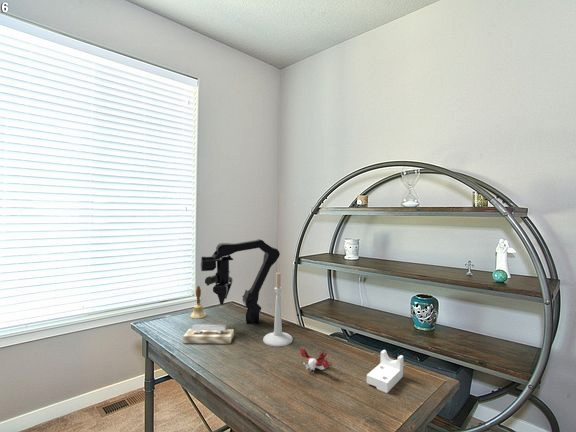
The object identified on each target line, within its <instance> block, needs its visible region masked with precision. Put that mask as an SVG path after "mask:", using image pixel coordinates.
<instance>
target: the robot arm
mask: <svg viewBox="0 0 576 432" xmlns="http://www.w3.org/2000/svg"><path fill="white" fill-rule="evenodd" d="M254 249H260V250H261V251H262V252H263V253H264V255H263V261H262V265H261V266H260V268H259V271H258V273H257V274H256V276H255V279H254V281H253V283H252V285H251V287H250V288H249V289H245V291H244V294H243V295H242V303H243V305H245V307H246V308H247V309H246V312H245V322H246V325H260V323H261V311H262V307H261V305H260V304H259V303H258V301H259V296H260V295H259V294H260V291H261V289H262V287H263V285H264V282H265V280H266V278H267V277H268V274H269V272H270V269H271V268H272V266H273V265H274V264H275V263H276V262H277V261H278V259H279V257H280V255H281V253H280V251H279V249H278V248H275V247H272V246H271V245H269V244H267V243H266V242H265V241H264V240H263V239H259V238H258V239H256V240H248V241H243V242H237V243H231V242H230V243H229V242H222V243H221V242H220V243H218V244H217V245H216V248H215V251H214V253H213V254H212V255H211V256H201V258H200V270H201V272H209V271H210V272H211V271H215V269H216V273H215V274H213V275H209V276H206V278H205V279H204V284H206V286H207V287H208V286H210V285H213V284H215V285H214V286H213V287H212V293H214V294H216V295H217V298H218V301H219V305H221V306H222V305H224V302H225V300H226V299H227V297H228V294H229V292H230V290H231V288H232V285H233V278H232V277H231V276H230V273H231V270H230V261H233V260H234V258H233V257H232V256H231V255H233V254H235V253H237V252H242V251H248V250H254Z"/></svg>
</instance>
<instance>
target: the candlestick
mask: <svg viewBox="0 0 576 432" xmlns="http://www.w3.org/2000/svg"><path fill="white" fill-rule="evenodd" d="M281 275H282V273H281V272H276V273H275V287H274V288H273V289H274V290H275V291H274V292H275V305H274V306H275V308H274V325H273V326H274V327H273V332H269V333H267V334H265V336H263V339H262V342H263V343H264V344H266V345H267V346H269V347H270V346H271V347H278V348H279V347H285V346H288V345H290V344H292V342H293V340H294V339H293V336H291V335H290V334H289V333H287V332H284V331H283V327H282V326H283V325H282V321H283V320H282V304H281V301H282V300H281V293H282V289H283V287H281V282H282V281H281V279H282V277H281Z"/></svg>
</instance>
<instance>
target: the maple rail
mask: <svg viewBox="0 0 576 432" xmlns="http://www.w3.org/2000/svg"><path fill="white" fill-rule="evenodd" d="M234 333H235V331H234V328H226V329H225V330H222V334H217V330H201V334H196V330H192V328H189V329H187V331H186V332H185V333H184V335H183V336H182V338H183V339H182V341H183V344H224V345H225V344H226V345H228V344H229V345H230V344H231V343H232V341H233V338H234V336H235V335H234Z"/></svg>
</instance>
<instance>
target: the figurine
mask: <svg viewBox="0 0 576 432" xmlns="http://www.w3.org/2000/svg"><path fill="white" fill-rule="evenodd" d="M299 354H300V355H301V356H302V357H303V358H306V359H307V361H308V362H307V363H308V364H307V363H305V362H303V365H304V366H305V367H306V368H305V371H306V370H308V369H310V370H309V371H310V372H311V371H313V372H312V374H314V372H315V371H314V370H315V369H319V370H320V371H322V370H325V369H327V368H329V367H330V366H332V364H333V363H334V362H333V361H328V360H329V356H327V354H328V352H326V353H325V351H322V350H320V352H319V355H318V357H317V358H314V357H312V356H311V355H309V354H308V352H307V350H306V345H303V347H300V349H299Z"/></svg>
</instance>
